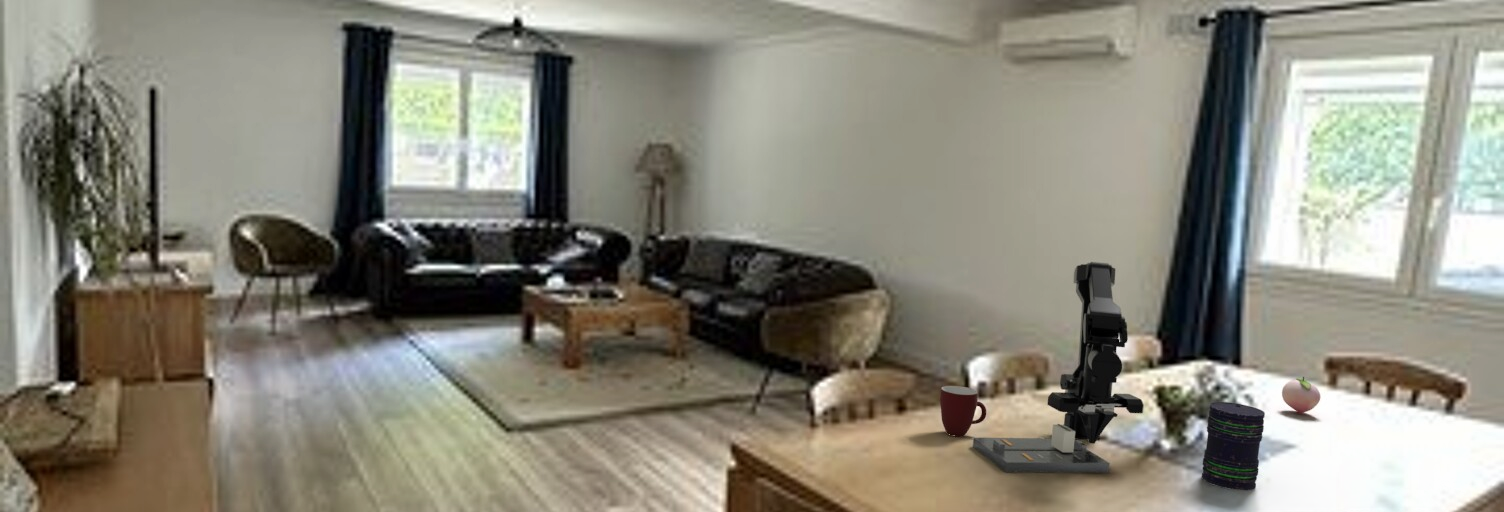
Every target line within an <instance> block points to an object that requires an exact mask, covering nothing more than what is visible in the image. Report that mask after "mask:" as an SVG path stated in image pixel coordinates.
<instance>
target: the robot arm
mask: <svg viewBox="0 0 1504 512" xmlns="http://www.w3.org/2000/svg"><path fill="white" fill-rule="evenodd" d="M1116 271H1117V270H1116V268H1115V267H1114V266H1113V265H1112V264H1109V263H1108V262H1097V261H1096V262H1095V261H1090V262H1087V263H1085V264H1084V263H1083V264H1079V265H1076V267H1074V272H1073V284H1075V292H1076V293H1075V294H1076V295H1077V297H1078V298H1079V300H1080V302H1081V316H1080V319H1081V320H1080V332H1079V346H1078V348H1079V349H1078V361H1077V366H1076V368H1075V369H1074V371H1073V372H1072V373H1071V374H1070V373H1069V374H1068V373H1064V374H1061V375H1060V381H1059V386H1060V389H1061V390H1065V391H1064V392H1051V393H1050V394H1049V396H1048V397H1047V406H1050V407H1051V408H1053V409H1054V410H1056V411H1058V412H1062V413H1064V418H1063V419H1064V420H1063V425H1065V426H1067V427H1069V428H1070V429H1072V430H1074V431H1075V440H1084V439H1085V440H1088V443H1089V444H1093V445H1094V444H1096V442H1097V441H1098V440H1101V439H1102V437H1101V434H1103V431H1104V430H1105V429H1106V427H1107V426H1108V425H1109V423H1111V421H1112V420H1113V419H1114V418H1117V417H1118V413H1116V412H1115V408H1125V409H1126V411H1127V412H1128V413H1130V414H1143V413H1144V408H1145V405H1144V402H1143V400H1142V399H1141V398H1140V397H1136V396H1134V395H1132V394H1131V393H1113V395H1112V391H1113V384H1116V383H1117V379H1118V378H1117V377H1119V375H1120V374H1121V372H1122V371H1123V363H1122V359H1121V358H1120V356H1119V355H1118V353H1117V348H1125V347H1126V343H1128V340H1129V336H1128V324H1127V322H1126V318H1125V316H1123V315H1122V311H1121V307H1120V306H1119V305H1118V304H1117V303H1115V302H1114V299H1113V289H1112V287H1113V286H1115V283H1116V281H1115V280H1116Z"/></svg>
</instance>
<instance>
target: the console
mask: <svg viewBox="0 0 1504 512" xmlns="http://www.w3.org/2000/svg"><path fill="white" fill-rule="evenodd" d="M1051 441H1052V437H1049V438H1047V437H1045V438H1044V437H1043V438H1041V437H1038V438H1037V437H1033V438H1032V437H973V442H972V447H973V448H974V449H975V450H976V451H978V453H981V455H983V456H984V457H985V458H986V459H988V460H989V461H991V462H992V463H993V464H995V466H997V467H998V468H999V469H1001V470H1002V471H1003V472H1004V473H1051V474H1052V473H1056V474H1057V473H1071V474H1072V473H1074V474H1075V473H1081V474H1082V473H1083V474H1085V473H1086V474H1088V473H1090V474H1091V473H1093V474H1094V473H1095V474H1097V473H1098V474H1099V473H1101V474H1103V473H1104V474H1105V473H1107V474H1108V473H1109V472H1110V462H1109V461H1107V460H1105V459H1104V458H1102V457H1100V456H1099V455H1097V454H1095V453H1093V452H1092V451H1091V450H1089V449H1087V444H1086V443H1084V442H1083V441H1080V439H1075V441H1074V451H1073V452H1061V451H1060V450H1058V449H1057V448H1055V447H1053V446H1052V445H1051Z"/></svg>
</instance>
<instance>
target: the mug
mask: <svg viewBox="0 0 1504 512" xmlns="http://www.w3.org/2000/svg"><path fill="white" fill-rule="evenodd" d="M939 397H940V399H939V402H940V414H941V422H942V424H943V425H942V426H943V427H944V430H945V432H947V433H948V434H947V433H946V434H947V435H949V434H950V435H949V436H951V435H955V436H954V437H957V436H962V437H964V435H967V433H968V432H969V429H970V428H971V426H972V425H977V424H980V423H982V422H983V421H984V420H985V419H986V417H987V408H986V405H985V404H984V403H982V402H981V401H978V400H979V399H978V397H979V391H977V390H976V389H974V388H971V387H967V386H962V385H961V386H960V385H959V386H958V385H946V386H942V387H941V388H940V396H939ZM977 407H979V408H980V409H981V415H980V417H978V418H977V419H974V418H975V414H976V412H977V411H976V410H977Z"/></svg>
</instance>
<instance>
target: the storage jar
mask: <svg viewBox="0 0 1504 512" xmlns="http://www.w3.org/2000/svg"><path fill="white" fill-rule="evenodd" d="M1265 414H1266V413H1265V411H1264V410H1262V409H1259V408H1257V407H1254V406H1250V405H1246V404H1241V403H1235V402H1234V403H1233V402H1226V401H1225V402H1224V401H1223V402H1222V401H1215V402H1211V403H1210V404H1209V412H1208V416H1207V426H1206V432H1207V437H1206V438H1207V440H1206V448H1205V450H1204V454H1203V458H1202V473H1201V479H1202V480H1203V481H1205V483H1206V482H1207V483H1209V484H1210V485H1213V486H1215V487H1220V488H1223V489H1228V490H1234V491H1245V492H1246V491H1254V490H1255V489H1256V487H1257V483H1256V481H1257V479H1258V475H1259V463H1260V460H1259V454H1260V445H1261V442H1262V440H1263V433H1264V429H1265V428H1264V427H1265V426H1264V422H1265V420H1264V418H1265Z"/></svg>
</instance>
